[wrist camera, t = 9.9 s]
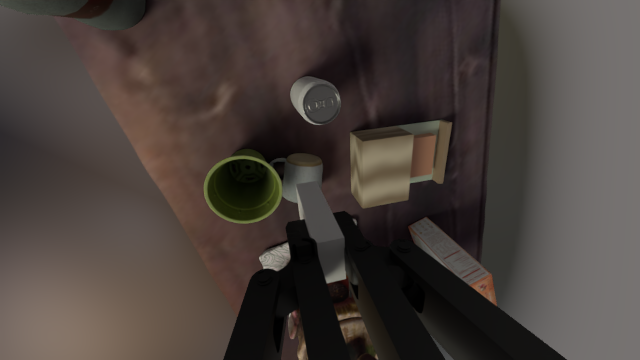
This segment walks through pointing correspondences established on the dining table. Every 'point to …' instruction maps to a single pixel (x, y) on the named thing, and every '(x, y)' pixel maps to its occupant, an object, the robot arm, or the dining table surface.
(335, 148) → the dining table surface
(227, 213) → the plant pot
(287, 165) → the ceramic mug
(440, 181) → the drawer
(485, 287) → the cracker box
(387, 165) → the beige rectangular slab
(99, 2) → the bottle
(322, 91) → the can
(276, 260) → the cookie jar
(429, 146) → the orange rectangular slab
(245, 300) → the robot arm
